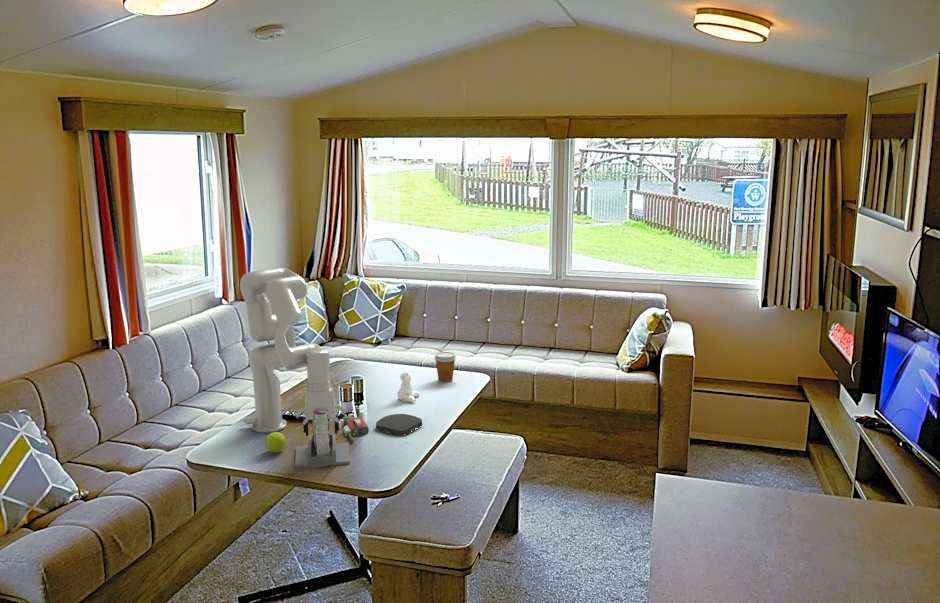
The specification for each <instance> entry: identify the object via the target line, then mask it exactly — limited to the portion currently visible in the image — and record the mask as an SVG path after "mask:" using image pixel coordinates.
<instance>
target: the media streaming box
mask: <svg viewBox="0 0 940 603" xmlns="http://www.w3.org/2000/svg"><path fill="white" fill-rule="evenodd" d="M375 422H376V423H375V430H376V429H377V431H378V430H379V431H378V432H382V433H385V434H389V433H390V435H393V434H394V436H398V435H402V436H405V435H404V434H407V435H409V434H408V433H410V432H411V431H413V432H415V431H416V430H415V428H419V427H420V426H423V420H422V418H420V417H417V416H415V415H412V414H406V413H396V414H395V413H394V414H389V415H386V416H384V417H382V418H380V419H378V420H377V421H375ZM420 428H421V427H420ZM420 428H419V429H420ZM414 430H415V431H414ZM395 434H396V435H395ZM410 434H411V433H410Z"/></svg>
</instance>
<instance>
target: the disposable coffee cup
mask: <svg viewBox="0 0 940 603" xmlns="http://www.w3.org/2000/svg"><path fill="white" fill-rule="evenodd" d="M456 358H457V356H456V354H455V353H454V352H452V351H451V352H450V351H441V352H437V353H435V356H434V359H435V366H436V372H437V379H438V382H440V381H441V382H440V383H450V381H451V382H453V377H454V370H455V362H456Z"/></svg>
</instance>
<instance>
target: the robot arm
mask: <svg viewBox="0 0 940 603" xmlns="http://www.w3.org/2000/svg"><path fill="white" fill-rule="evenodd" d="M239 282H240V283H239V290H240V293H241V295H242V298H243V301H244V303H245V306H246V313H247V322H248V327H249V328H248V330H249V335H250V338H251V340H252V341H253V342H255V343H264V342H265V343H266V342H270V341H271V342H272V341H274V343H268V344H263V345H260V346H256V347H254V348H253V349H251V350H250V352H249V355H248V362H249V366H250V369H251V373H252V375H251V376H252V382H253V394H254V395H253V396H254V408H255V409H254V410H255V415H252V417H248V416H247V417H243V423H246V425H251V428H252V430H253V431H254V432H257V433H260V434H261V433H262V434H265V433H266V434H267V433H269V434H270V433H273V432H279V431H282V430H284V429H285V428H286V427H288V426H287V425H288V424H287V420H286V419H284V418H283V412H282V411H283V410H282V394H281V392H282V391H281V381H280V379H279V377H278V376H277V375H276V374H275V372H274V371H275V370H277V369H282V368H285V369H287V370H289V371H294V370H298V369H302V368H305V367H306V374H307V376H306V378H307V379H306V380H307V381H306V382H303V383H302V384H303V385H302V386H303V388H306V390H305V394H304V405H303V406H302V407H300V408H298V409H297V410H295V411H294V412H293V413H294V416H295V418H296V419H297V421H299V423H301V424H302V425H303V433H304V434H305V436H306V437H309V425H308V424H309V423H308V422H309V421H312V420H313V412H314V411H323V410H324V411H325V410H327V411H328V420H332V419H333V421H334V424H333V425H334V433H335V435H337V434H338V432H339V431H340V422H341V420H342V419H343V418H344V416H345V415H346V413H347V407H345V406H342V405H340V404H338V403H336V396H335V392H334V388H333V387H332V384H331V381H332V380H331V361H330V352H329V350H328V349H326V348H322V347H321V346H320V344H317V343H316V342H315V343H314V342H310V343H306V344H301V345H297V344H296V337H295V336H296V335H295V329H294V326H295V325H297V324H298V323H299V322H300V321H301V320H302V318H303V312H302V310H301V308H300V306H299V304H298V301H297V300H301V299H302V300H303V299H304V298H306V297H307V295H308V285H307V283H306V281H305V280H304V278H303V277H302V276H300V275H299V274H298V273H296V272H294V271H293V270H290V269H288V268H286V267H275V268H274V267H273V268H268V269H265V268H264V269H258V270H254V271H249V272H246V273H244V274H243V275H242V276H241V278H240V281H239ZM265 294H266V295H265ZM272 310H273V312H272ZM337 410H339V411H340V413H339V414H338V415H337ZM301 413H304V417H303V416H302V415H301Z"/></svg>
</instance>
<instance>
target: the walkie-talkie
mask: <svg viewBox="0 0 940 603" xmlns="http://www.w3.org/2000/svg"><path fill="white" fill-rule="evenodd" d="M343 424H344V426H343V433H345V434H344V436H345V437H348V438H349V440H350V442H352V443H354V442H355V440H354V438H353V437H355V436H359V435H358V434H361V435H367V434H366V433H368V434H369V426H368V424H367V423H366V421H365V420H364V419H363V417H361V416H353V417H348V418H346V419H344V421H343ZM351 435H353V436H351Z"/></svg>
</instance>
